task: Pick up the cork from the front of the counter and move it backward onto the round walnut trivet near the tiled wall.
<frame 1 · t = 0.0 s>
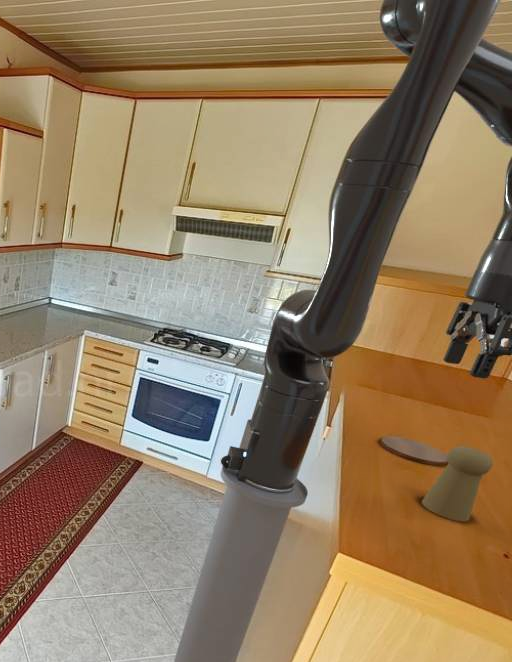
hand: (463, 369, 82), 21 cm above the worktop, tool pointing down, fingers open, 8 cm apart
trivet: (412, 451, 101), on the worktop
cork: (444, 511, 80), on the worktop
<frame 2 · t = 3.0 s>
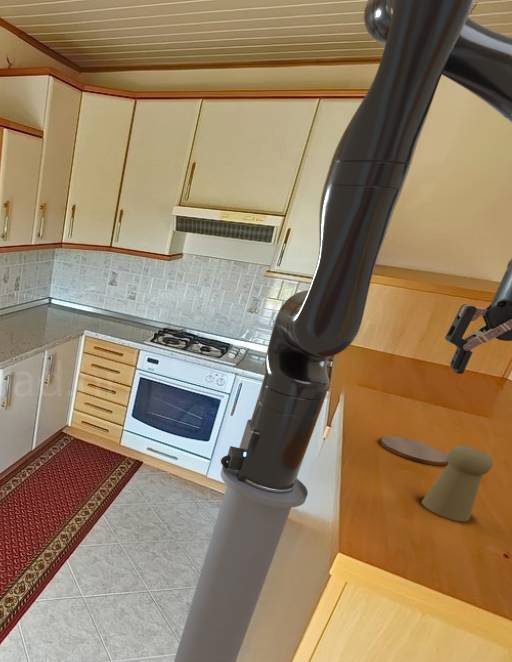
hand: (492, 379, 75), 22 cm above the worktop, tool pointing down, fingers open, 8 cm apart
nothing on the worktop moved.
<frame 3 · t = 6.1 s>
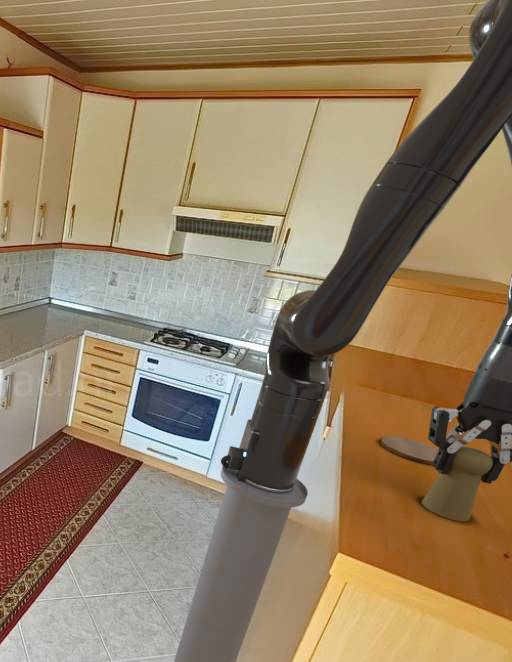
hand: (461, 475, 77), 6 cm above the worktop, tool pointing down, fingers closed on cork, 5 cm apart
cork: (444, 511, 80), on the worktop, touching gripper
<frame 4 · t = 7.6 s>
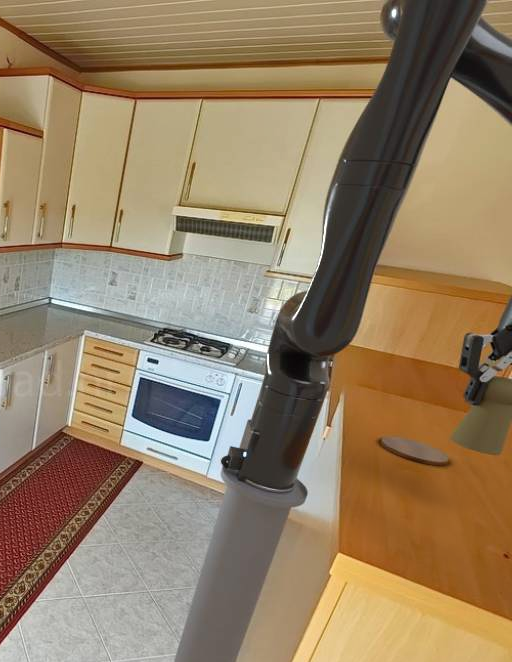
hand: (494, 407, 73), 18 cm above the worktop, tool pointing down, fingers closed on cork, 5 cm apart
cork: (474, 446, 76), point 12 cm above the worktop, touching gripper
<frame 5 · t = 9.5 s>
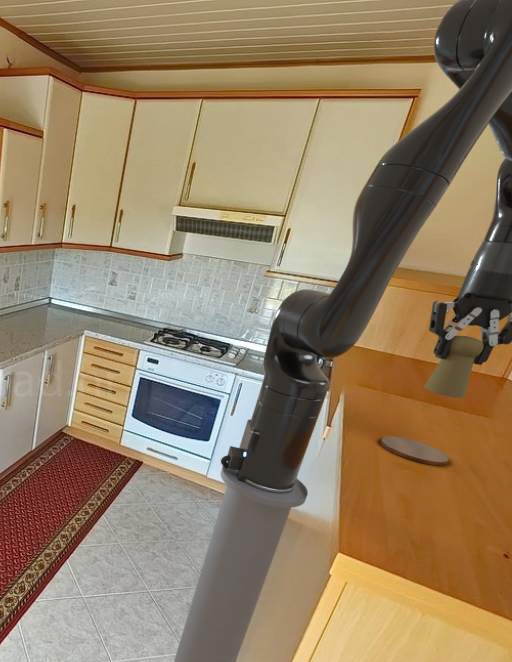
hand: (457, 360, 92), 20 cm above the worktop, tool pointing down, fingers closed on cork, 5 cm apart
cork: (443, 392, 94), point 14 cm above the worktop, touching gripper
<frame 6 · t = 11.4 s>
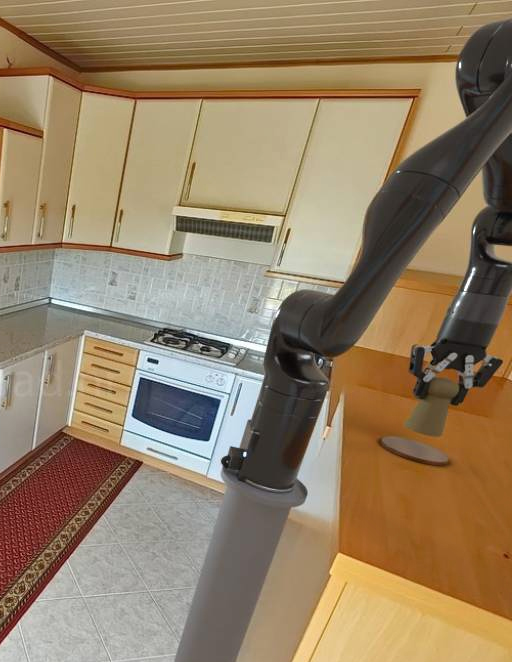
hand: (435, 400, 97), 11 cm above the worktop, tool pointing down, fingers closed on cork, 5 cm apart
cork: (422, 430, 99), point 5 cm above the worktop, touching gripper
when the fingers open (7 cm above the worktop, at t = 13.0 s): cork stays where it is, resting on trivet.
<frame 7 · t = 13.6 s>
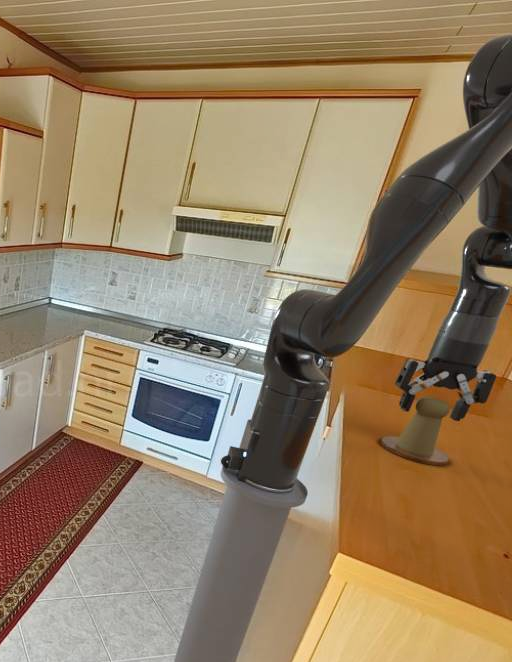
hand: (429, 414, 98), 8 cm above the worktop, tool pointing down, fingers open, 8 cm apart
cork: (413, 449, 100), point 1 cm above the worktop, touching trivet
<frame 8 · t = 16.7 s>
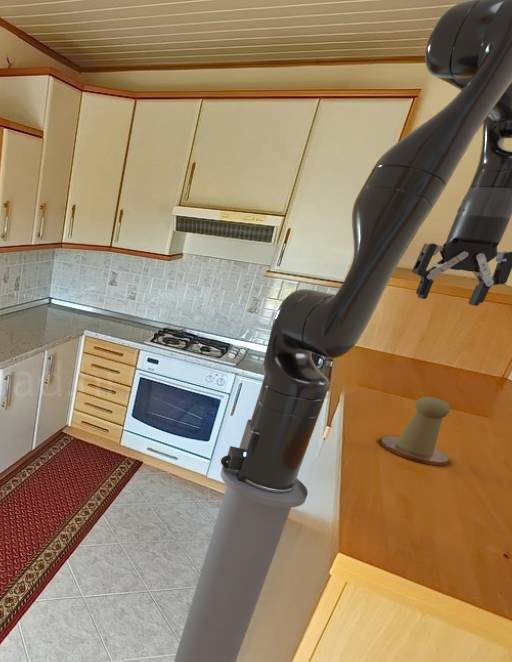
hand: (447, 301, 96), 30 cm above the worktop, tool pointing down, fingers open, 8 cm apart
nothing on the worktop moved.
at the end: cork 0.1 cm off-centre on the trivet, point 0.6 cm above the trivet's base; cork tilted 0°; cork moved 25.4 cm from its start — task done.
